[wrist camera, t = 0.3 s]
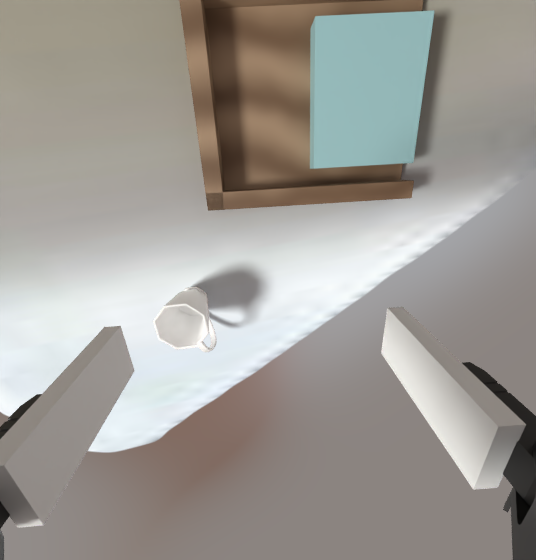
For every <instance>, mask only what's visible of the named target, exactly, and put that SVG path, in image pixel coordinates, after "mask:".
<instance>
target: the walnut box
mask: <svg viewBox="0 0 536 560" xmlns="http://www.w3.org/2000/svg"><path fill="white" fill-rule="evenodd" d="M179 1H180V8H181V15H182V23H183V30H184V37H185V45H186V52H187V59H188V67H189V74H190V81H191V89H192V96H193V104H194V111H195V118H196V126H197V133H198V140H199V148H200V155H201V162H202V170H203V177H204V184H205V192H206V199H207V206H208V210H225V209H241V208H257V207H273V206H290V205H306V204H322V203H338V202H354V201H371V200H387V199H403V198H412V191H413V184H414V181H411V180H401V173H402V165H403V163H401V164H384V165H367V166H350V167H333V168H316V169H310V39H311V26H312V23H313V21H314V18H315V16H330V15H351V14H372V13H394V12H415V11H422V6H423V0H179Z"/></svg>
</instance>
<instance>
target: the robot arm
mask: <svg viewBox="0 0 536 560" xmlns="http://www.w3.org/2000/svg"><path fill="white" fill-rule="evenodd" d="M381 353H382V355H383V356H384V358H385V359H386V361H387V362H388V364H389V365H390V367H391V368H392V370H393V371H394V373H395V374H396V376H397V377H398V379H399V380H400V382H401V383H402V385H403V386H404V387H405V389H406V390H407V392H408V393H409V395H410V396H411V398H412V399H413V401H414V402H415V404H416V405H417V407H418V408H419V410H420V411H421V413H422V414H423V416H424V417H425V418H426V420H427V421H428V423H429V424H430V426H431V427H432V429H433V430H434V432H435V433H436V435H437V436H438V438H439V439H440V441H441V442H442V444H443V445H444V447H445V448H446V450H447V451H448V453H449V454H450V455H451V457H452V458H453V460H454V461H455V463H456V464H457V466H458V467H459V469H460V470H461V472H462V473H463V475H464V476H465V478H466V479H467V480H468V482H469V483H470V485H471V486H472V488H473V489H486V488H496V487H498V486H499V483H500V481H501V479H502V477H503V475H504V476H505V477H506V478H507V479H508V481H509V482H510V483H511V484H512V486H513V488H512V490H511V492H510V494H509V497H508V499H507V501H506V503H505V505H504V509H503V510H505V511H506V512H508V511H509V509H510V507H511V521H512V549H513V560H536V416H535V415H534V414H533V413H532V412H530V411H529V410H528V409H527V408H526V407H525V406H524V405H523V404H522V403H521V402H519V401H518V400H517V399H516V398H515V397H514V396H513V395H512V394H510V393H508V392H507V390H506V389H505V388H504V387H503V386H501V385H500V384H498V383H497V381H496V380H495V379H494V378H492V377H491V376H490V375H489V374H488V373H487V372H485V371H484V370H482V369H481V368H479V367H477V366H475V365H474V364H472V363H470V362H466V363H461V362H460V361H459V360H458V359H457V358H456V357H455V356H454V355H453V354H452V353H451V352H450V351H448V350H447V349H446V348H445V347H444V346H443V345H442V344H441V343H440V342H439V341H438V340H437V339H436V338H435V337H434V336H433V335H432V334H430V332H429V331H427V330H426V329H425V328H424V327H423V326H422V325H421V324H420V323H419V322H418V321H417V320H416V319H415V318H414V317H413V316H412V315H411V314H409V312H407V311H406V310H405V309H404V308H403V307H396V308H395V307H394V308H388V309H387V316H386V323H385V330H384V338H383V345H382V352H381ZM133 372H134V368H133V365H132V361H131V358H130V355H129V352H128V349H127V345H126V342H125V339H124V336H123V332H122V329H121V326H114V327H104V328H103V329H102V330H101V332H100V333H99V334H98V335H97V336H96V337H95V338H94V339H93V340H92V341H91V342H90V343H89V344H88V346H87V347H86V348H85V349H84V350H83V351H82V352H81V353H80V354H79V355H78V356H77V357H76V358H75V360H74V361H73V362H72V363H71V364H70V365H69V366H68V367H67V368H66V369H65V370H64V371H63V372H62V373H61V375H60V376H59V377H58V378H57V379H56V380H55V381H54V382H53V383H52V384H51V385H50V386H49V387H48V389H47V390H46V391H45V392H44V393H43V394H38V395H36V396H34V397H33V398H31V399H30V400H28V401H27V402H26V403H24V404H23V405H21V406H20V407H19V408H18V409H17V410H16V411H15V412H14V413H13V414H12V415H11V416H10V417H9V418H8V421H7V422H5V423H4V424H3V425H2V426H1V427H0V528H1V527H2V526H3V524H4V522H5V521H6V520H7V519H8V517H9V516H10V518H11V519H12V520H13V522H14V523H15V524H16V526H17V527H29V526H41V525H44V524H45V522H46V521H47V519H48V517H49V515H50V513H51V512H52V510H53V509H54V507H55V505H56V504H57V502H58V500H59V498H60V497H61V495H62V493H63V492H64V490H65V488H66V487H67V485H68V483H69V481H70V480H71V478H72V476H73V475H74V473H75V471H76V469H77V468H78V466H79V464H80V463H81V461H82V459H83V458H84V456H85V454H86V452H87V451H88V449H89V447H90V446H91V444H92V442H93V441H94V439H95V437H96V435H97V434H98V432H99V430H100V429H101V427H102V425H103V423H104V422H105V420H106V418H107V417H108V415H109V413H110V412H111V410H112V408H113V406H114V405H115V403H116V401H117V400H118V398H119V396H120V394H121V393H122V391H123V389H124V388H125V386H126V384H127V383H128V381H129V379H130V377H131V376H132V374H133ZM0 560H4V537H3V534H2V532H1V530H0Z"/></svg>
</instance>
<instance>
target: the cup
mask: <svg viewBox="0 0 536 560" xmlns="http://www.w3.org/2000/svg"><path fill="white" fill-rule="evenodd" d="M207 304H208V298H207V294H206V292H205V291H203V290H201V289H200V288H198V287H189V288H185V290H184V291H182V292H180V293H178V294H177V295H176V296H175V297H174V298H173V299H172V300H170V301H169V302H168V303H167V304H166V305H165V306H164V307H163V308H162V310H161V311H160V312H159V314H158V315H157V316H156V318H155V319H154V321H153V323H154V326H155V329H156V332H157V335H158V339H159V340H161V341H163V342H164V343H166V344H168V345H170V346H172V347H173V348H175V349H186V348H194V347H199V348H200V349H201V350H202V351H203V352H209V351H211V350H213V349H214V347H215V345H216V334H215V331H214V328H213V325H212V323H211V320H210V318H209V310H208V305H207ZM208 333H210V336H211V345H210V347H209V348H208V347H207V346H206V345H205V343H204V342H203V340H204V338H205V337H206V336H207V335H208Z"/></svg>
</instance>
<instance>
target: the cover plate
mask: <svg viewBox="0 0 536 560" xmlns="http://www.w3.org/2000/svg"><path fill="white" fill-rule="evenodd" d="M433 18H434V11H415V12H394V13H372V14H351V15H330V16H315V18H314V21H313V23H312V26H311V39H310V169H316V168H333V167H350V166H367V165H384V164H401V163H413V161H414V154H415V147H416V140H417V133H418V125H419V118H420V111H421V104H422V97H423V89H424V82H425V75H426V68H427V61H428V54H429V46H430V39H431V32H432V25H433Z"/></svg>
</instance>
